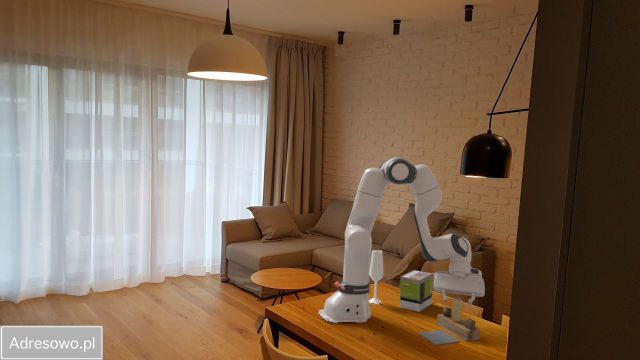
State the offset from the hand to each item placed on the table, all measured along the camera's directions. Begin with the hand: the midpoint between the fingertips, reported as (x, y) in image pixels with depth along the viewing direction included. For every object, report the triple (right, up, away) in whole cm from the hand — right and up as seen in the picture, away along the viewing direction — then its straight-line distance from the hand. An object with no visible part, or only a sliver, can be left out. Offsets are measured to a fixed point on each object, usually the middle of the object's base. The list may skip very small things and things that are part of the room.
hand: (457, 302), depth 185 cm
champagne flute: (-30, -8, +31) cm, 43 cm away
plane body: (-1, -11, -2) cm, 11 cm away
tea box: (-11, -9, +27) cm, 31 cm away
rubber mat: (-10, -11, -9) cm, 18 cm away
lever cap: (-1, -7, -1) cm, 7 cm away
